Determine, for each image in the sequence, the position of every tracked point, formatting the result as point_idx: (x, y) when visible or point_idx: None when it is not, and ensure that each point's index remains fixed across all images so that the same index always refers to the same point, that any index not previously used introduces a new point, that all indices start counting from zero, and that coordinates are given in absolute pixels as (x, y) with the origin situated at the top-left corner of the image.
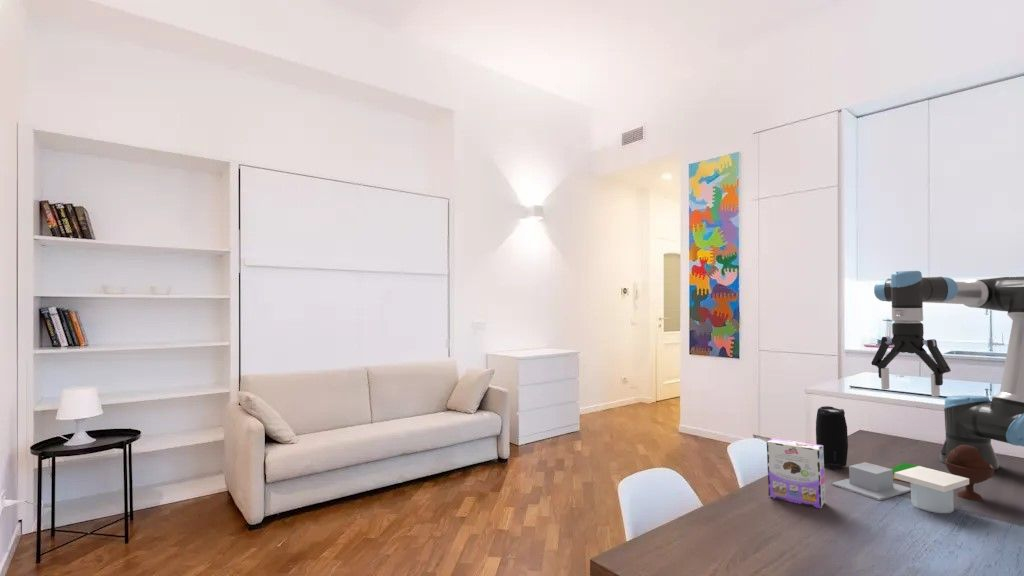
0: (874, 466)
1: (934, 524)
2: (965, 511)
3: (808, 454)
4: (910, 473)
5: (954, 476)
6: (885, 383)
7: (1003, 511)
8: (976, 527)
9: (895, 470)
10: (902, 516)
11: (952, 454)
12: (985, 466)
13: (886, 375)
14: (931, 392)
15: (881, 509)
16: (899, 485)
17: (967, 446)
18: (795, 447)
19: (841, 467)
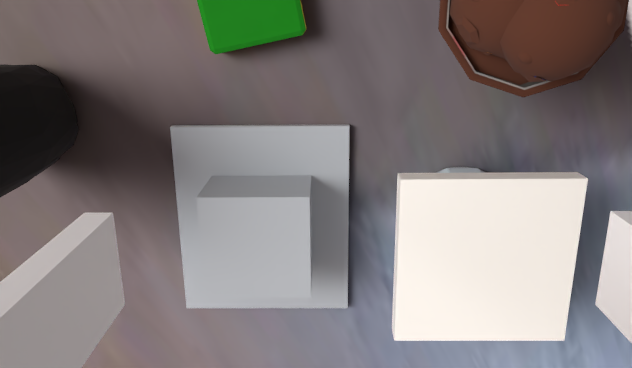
0: (251, 220)
1: (519, 341)
2: (532, 169)
3: None
4: (432, 303)
5: (543, 200)
6: (92, 314)
7: (605, 59)
8: (594, 269)
9: (221, 15)
10: (446, 359)
11: (494, 45)
12: (618, 27)
13: (36, 352)
14: (617, 326)
15: (388, 360)
16: (307, 133)
17: (587, 37)
18: None
19: (76, 126)
